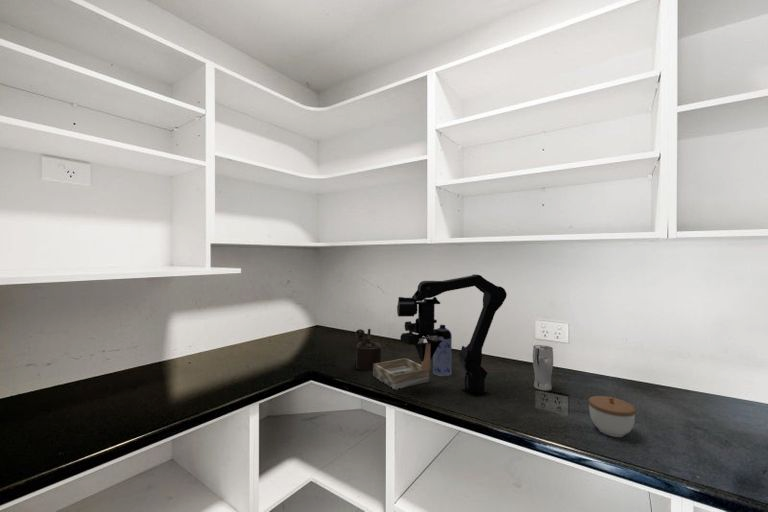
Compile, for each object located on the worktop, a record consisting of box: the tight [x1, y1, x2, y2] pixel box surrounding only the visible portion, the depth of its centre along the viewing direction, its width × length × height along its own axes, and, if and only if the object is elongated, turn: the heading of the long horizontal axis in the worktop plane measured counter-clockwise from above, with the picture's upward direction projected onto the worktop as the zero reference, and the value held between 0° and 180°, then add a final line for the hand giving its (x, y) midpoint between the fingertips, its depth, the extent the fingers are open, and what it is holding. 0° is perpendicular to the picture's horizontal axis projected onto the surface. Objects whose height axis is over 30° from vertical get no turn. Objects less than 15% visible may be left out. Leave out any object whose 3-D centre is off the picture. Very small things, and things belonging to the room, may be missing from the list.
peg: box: [420, 341, 431, 371], centre depth 118 cm, size 3×3×9 cm
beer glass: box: [532, 344, 554, 392], centre depth 124 cm, size 7×7×15 cm
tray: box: [372, 357, 430, 390], centre depth 132 cm, size 16×16×5 cm
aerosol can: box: [432, 324, 453, 377], centre depth 139 cm, size 8×8×20 cm
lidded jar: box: [588, 395, 636, 438], centre depth 92 cm, size 11×11×9 cm
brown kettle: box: [354, 328, 382, 371], centre depth 145 cm, size 16×11×18 cm
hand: (425, 360), depth 118 cm, fingers closed on peg, 3 cm apart
